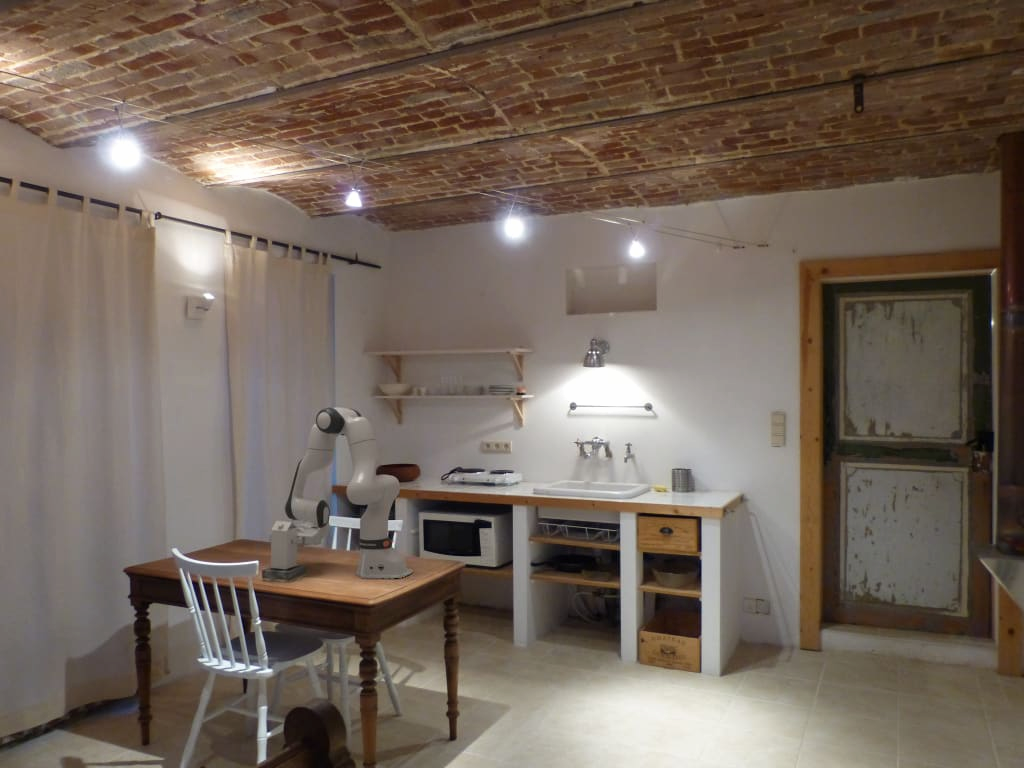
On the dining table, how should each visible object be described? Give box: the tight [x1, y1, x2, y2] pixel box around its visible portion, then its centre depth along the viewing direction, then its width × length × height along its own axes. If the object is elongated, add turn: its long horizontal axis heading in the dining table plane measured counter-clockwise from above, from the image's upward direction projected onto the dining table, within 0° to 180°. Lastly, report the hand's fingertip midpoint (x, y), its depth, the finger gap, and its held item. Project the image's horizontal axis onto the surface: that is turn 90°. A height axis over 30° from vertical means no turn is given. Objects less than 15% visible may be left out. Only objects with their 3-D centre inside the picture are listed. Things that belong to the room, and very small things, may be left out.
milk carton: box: [270, 517, 298, 569], centre depth 299 cm, size 7×7×19 cm
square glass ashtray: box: [261, 564, 307, 583], centre depth 298 cm, size 12×12×4 cm
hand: (282, 541), depth 298 cm, fingers closed on milk carton, 7 cm apart
